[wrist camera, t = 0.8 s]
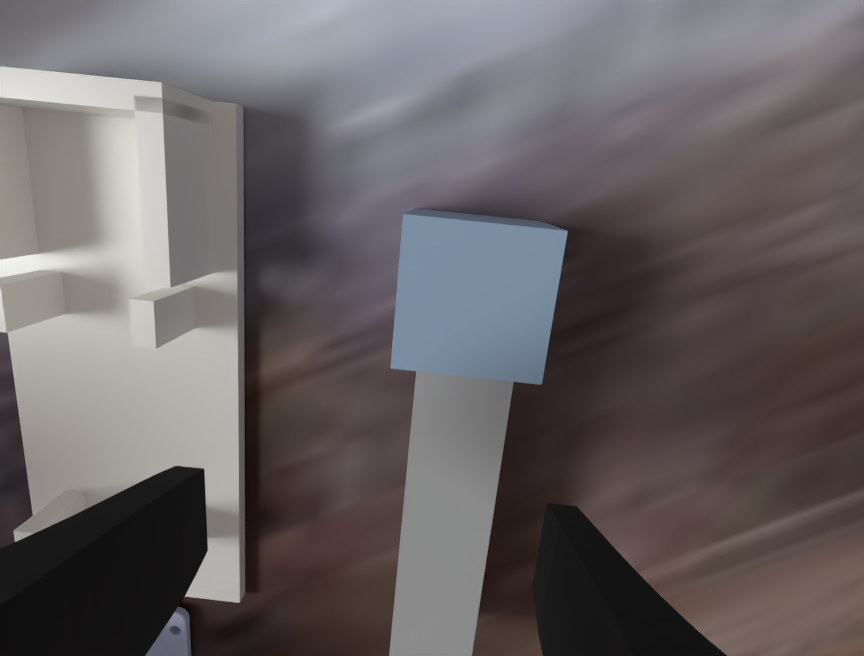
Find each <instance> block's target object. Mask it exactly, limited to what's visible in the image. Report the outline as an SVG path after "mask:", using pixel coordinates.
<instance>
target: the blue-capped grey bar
mask: <svg viewBox="0 0 864 656" xmlns="http://www.w3.org/2000/svg"><path fill="white" fill-rule="evenodd" d="M567 233H568V231H566V230H564V229H561V228H558V227H556V226H553V225H550V224H547V223H545V222H542V221H535V220H525V219H515V218H506V217H496V216H486V215H477V214H467V213H457V212H447V211H438V210H428V209H418V208H415V209H413V210H411V211H409V212H406V213H404V214H403V221H402V233H401V246H400V258H399V270H398V283H397V295H396V308H395V320H394V332H393V345H392V357H391V368H393V369H402V370H411V371H416V380H415V391H414V401H413V412H412V422H411V433H410V443H409V454H408V464H407V474H406V485H405V495H404V506H403V516H402V527H401V537H400V548H399V558H398V568H397V579H396V589H395V600H394V610H393V621H392V631H391V642H390V652H389V656H472V651H473V644H474V638H475V631H476V625H477V618H478V612H479V605H480V598H481V592H482V585H483V579H484V572H485V566H486V559H487V553H488V546H489V540H490V533H491V527H492V520H493V513H494V507H495V500H496V494H497V487H498V481H499V474H500V468H501V461H502V455H503V448H504V441H505V435H506V428H507V422H508V415H509V409H510V402H511V396H512V389H513V383H514V382H520V383H530V384H539V385H542V380H543V374H544V368H545V362H546V357H547V351H548V345H549V339H550V333H551V327H552V321H553V315H554V309H555V303H556V298H557V292H558V286H559V280H560V274H561V268H562V262H563V256H564V250H565V244H566V239H567Z"/></svg>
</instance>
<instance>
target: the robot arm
mask: <svg viewBox="0 0 864 656" xmlns="http://www.w3.org/2000/svg"><path fill="white" fill-rule="evenodd" d="M207 552H208V542H207V518H206V495H205V471H204V469H203V468H194V467H184V466H174V467H172V468H169V469H167V470H164V471H162V472H160V473H158V474H156V475H154V476H151V477H149V478H147V479H145V480H143V481H141V482H139V483H137V484H135V485H133V486H131V487H129V488H127V489H125V490H123V491H121V492H119V493H117V494H115V495H113V496H111V497H109V498H107V499H105V500H103V501H101V502H99V503H97V504H95V505H93V506H91V507H89V508H87V509H85V510H83V511H81V512H79V513H77V514H75V515H73V516H71V517H69V518H66V519H64V520H62V521H60V522H58V523H56V524H53V525H51V526H49V527H47V528H45V529H43V530H40V531H38V532H36V533H34V534H32V535H30V536H27V537H25V538H23V539H21V540H19V541H16V542H14V543H12V544H10V545H8V546H5V547H3V548H1V549H0V656H191V640H190V617H189V613H188V612H187V611H186V610H185V609H184V608H181V607H178V606H179V605H180V603H181V602H182V600H183V598H184V597H185V595H186V593H187V591H188V589H189V587H190V585H191V584H192V582H193V580H194V578H195V576H196V574H197V572H198V570H199V568H200V566H201V564H202V562H203V560H204V558H205V556H206V554H207ZM533 589H534V599H535V608H536V617H537V625H538V633H539V639H540V644H541V648H542V653H543V656H727V655H726V654H724V653H723V652H722V651H721V650H720V649H718V648H717V647H716V646H715V645H714V644H712V643H711V642H710V641H709V640H708V639H706V638H705V637H704V636H703V635H702V634H701V633H700V632H698V631H697V630H696V629H695V628H694V627H693V626H692V625H691V624H690V623H688V622H687V621H686V620H685V619H684V618H683V617H682V616H681V615H680V614H679V613H678V612H677V611H676V610H675V609H674V608H673V607H672V606H670V605H669V604H668V603H667V602H666V601H665V600H664V599H663V598H662V597H661V596H660V595H659V594H658V593H657V592H656V591H655V590H654V589H653V588H652V587H651V586H650V585H649V584H648V583H647V582H646V581H645V580H644V579H643V578H642V577H641V576H640V575H639V574H638V573H637V572H636V571H635V570H634V569H633V568H632V566H631V565H630V564H629V563H628V562H627V561H626V560H625V559H624V558H623V557H622V556H621V555H620V554H619V553H618V551H617V550H616V549H615V548H614V547H613V546H612V545H611V544H610V543H609V542H608V540H607V539H606V538H605V537H604V536H603V535H602V534H601V533H600V532H599V531H598V529H597V528H596V527H595V526H594V525H593V524H592V523H591V522H590V520H589V519H588V518H587V517H586V516H585V515H584V514H583V513H582V512H581V511H580V510H579V509H578V507H577V506H568V505H558V504H548V503H547V506H546V511H545V517H544V523H543V529H542V535H541V541H540V547H539V553H538V559H537V564H536V570H535V576H534V582H533Z"/></svg>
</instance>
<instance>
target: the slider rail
mask: <svg viewBox="0 0 864 656" xmlns="http://www.w3.org/2000/svg"><path fill="white" fill-rule="evenodd" d="M0 332H6V333H7V332H8V338H9V345H10V353H11V360H12V367H13V375H14V382H15V389H16V397H17V404H18V411H19V418H20V426H21V433H22V440H23V448H24V455H25V462H26V469H27V477H28V484H29V491H30V499H31V506H32V513H33V516H32V517H31V518H29V519H28V520H27V521H25V522H24V523H23V524H21V525H20V526H19V527H18V528H16V529H15V530H14V531H13V532H14V539H15V542H16V541H19V540H21V539H23V538H25V537H27V536H30V535H32V534H34V533H36V532H38V531H40V530H43V529H45V528H47V527H49V526H51V525H53V524H56V523H58V522H60V521H62V520H64V519H66V518H69V517H71V516H73V515H75V514H77V513H79V512H81V511H83V510H85V509H87V508H89V507H91V506H93V505H95V504H97V503H99V502H101V501H103V500H105V499H107V498H109V497H111V496H113V495H115V494H117V493H119V492H121V491H123V490H125V489H127V488H129V487H131V486H133V485H135V484H137V483H139V482H141V481H143V480H145V479H147V478H149V477H151V476H154V475H156V474H158V473H160V472H162V471H164V470H167V469H169V468H172V467H174V466H184V467H194V468H203V469H204V471H205V495H206V518H207V542H208V552H207V554H206V556H205V558H204V560H203V562H202V564H201V566H200V568H199V570H198V572H197V574H196V576H195V578H194V580H193V582H192V584H191V585H190V587H189V589H188V591H187V593H186V595H185V596H186V597H194V598H203V599H211V600H220V601H228V602H236V603H240V601H241V599H242V598H243V596H244V594H245V395H244V112H243V106H241V105H239V104H236V103H227V102H217V101H211V100H208V99H205V98H203V97H200V96H197V95H195V94H192V93H189V92H186V91H184V90H181V89H178V88H176V87H173V86H170V85H167V84H165V83H162V82H153V81H143V80H133V79H123V78H113V77H103V76H93V75H82V74H72V73H62V72H52V71H42V70H32V69H22V68H12V67H2V66H0Z"/></svg>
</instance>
